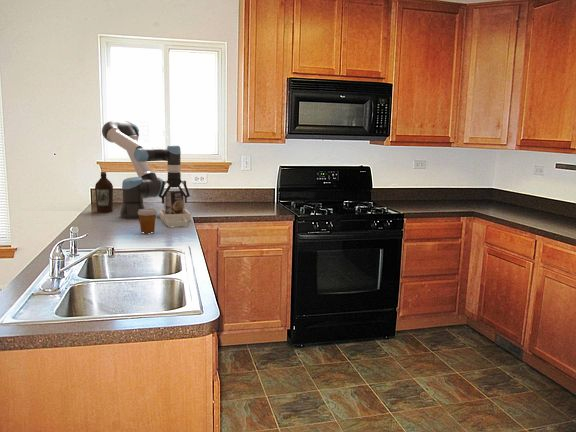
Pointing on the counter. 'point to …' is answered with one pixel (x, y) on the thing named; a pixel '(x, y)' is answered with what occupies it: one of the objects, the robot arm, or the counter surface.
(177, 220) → the tray
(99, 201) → the olive oil
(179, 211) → the coffee box
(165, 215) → the plastic food container
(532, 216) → the counter surface
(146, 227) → the glass of beer
